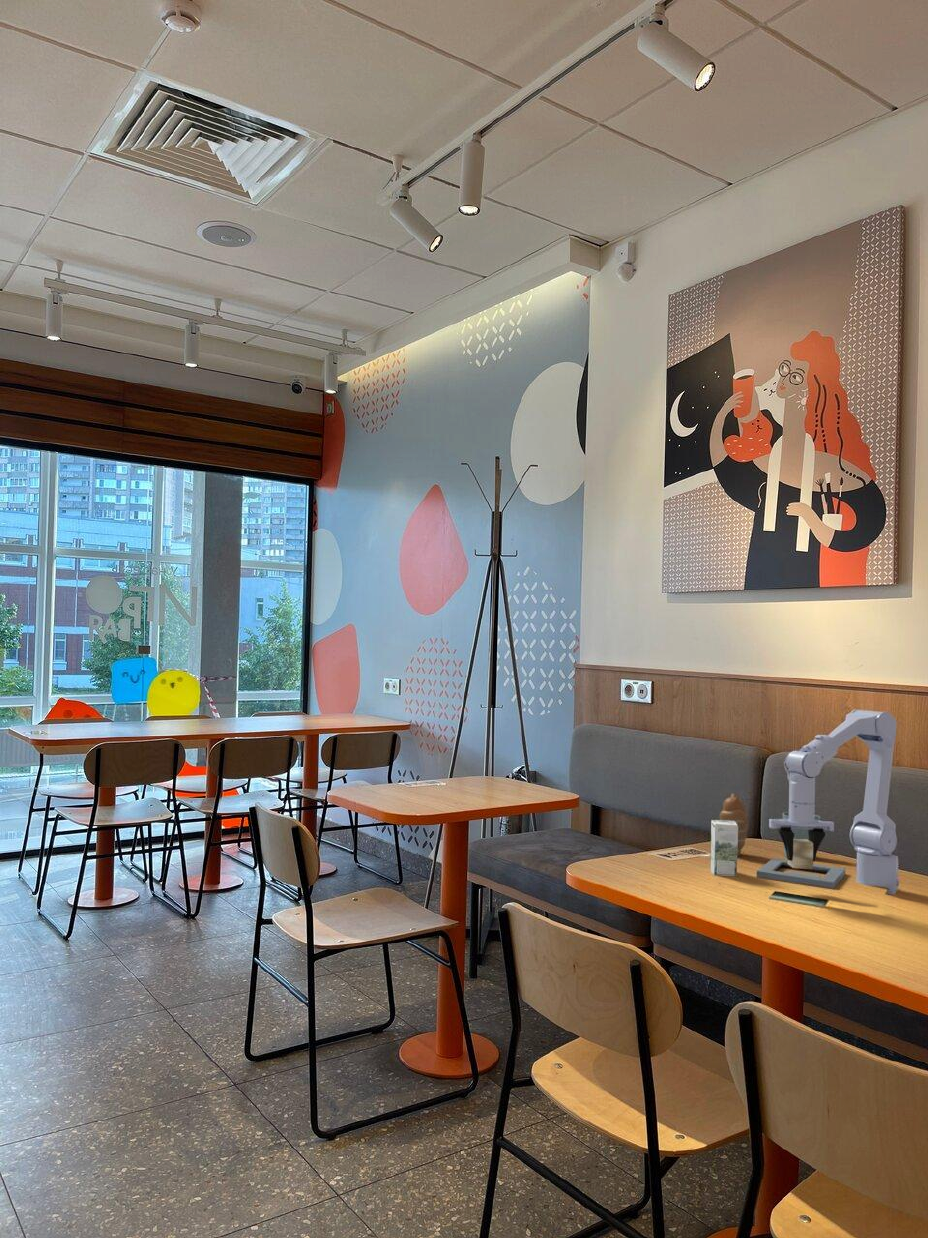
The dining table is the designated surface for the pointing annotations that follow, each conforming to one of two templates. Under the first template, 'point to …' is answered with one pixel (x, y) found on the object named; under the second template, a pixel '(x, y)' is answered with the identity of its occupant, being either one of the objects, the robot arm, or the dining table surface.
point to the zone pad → (798, 899)
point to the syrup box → (724, 848)
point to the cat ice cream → (736, 818)
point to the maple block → (802, 854)
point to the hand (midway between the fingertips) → (800, 860)
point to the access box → (802, 874)
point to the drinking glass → (798, 830)
